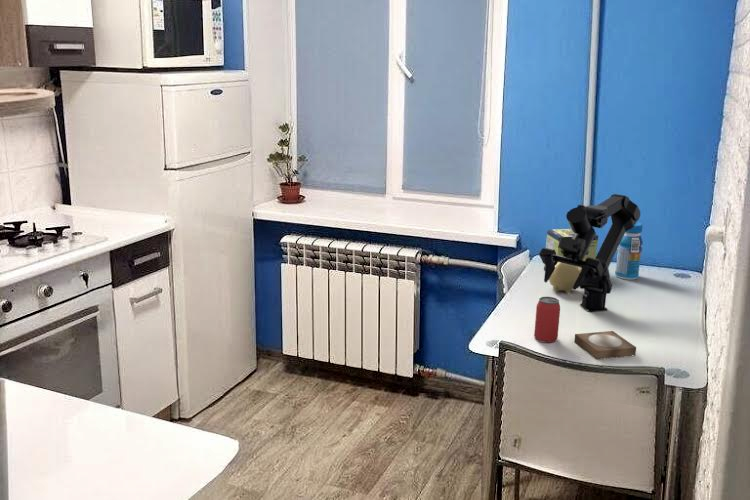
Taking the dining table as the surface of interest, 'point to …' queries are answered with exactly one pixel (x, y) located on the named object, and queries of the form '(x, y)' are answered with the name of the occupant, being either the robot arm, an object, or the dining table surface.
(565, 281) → the toy pig
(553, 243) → the protein box
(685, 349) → the dining table surface
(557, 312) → the beer can
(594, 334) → the plinth
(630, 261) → the beverage bottle
